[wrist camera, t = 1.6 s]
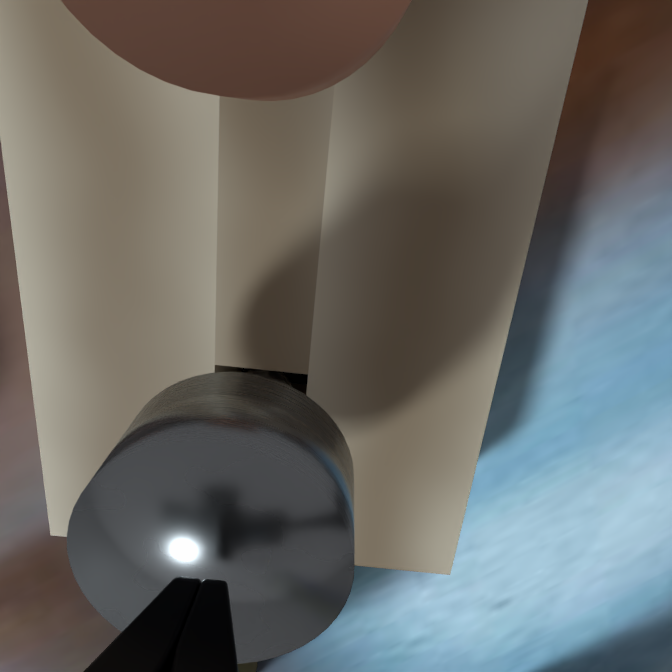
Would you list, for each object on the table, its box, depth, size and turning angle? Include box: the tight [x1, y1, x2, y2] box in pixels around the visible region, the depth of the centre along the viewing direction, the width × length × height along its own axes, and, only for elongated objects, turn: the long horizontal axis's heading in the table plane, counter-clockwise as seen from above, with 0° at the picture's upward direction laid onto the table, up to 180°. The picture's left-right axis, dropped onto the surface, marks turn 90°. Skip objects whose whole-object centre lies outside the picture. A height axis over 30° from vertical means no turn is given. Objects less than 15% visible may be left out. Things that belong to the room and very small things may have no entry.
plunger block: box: [0, 0, 588, 575], centre depth 14 cm, size 12×20×4 cm, turn 174°
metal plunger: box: [67, 369, 355, 664], centre depth 12 cm, size 5×5×6 cm
